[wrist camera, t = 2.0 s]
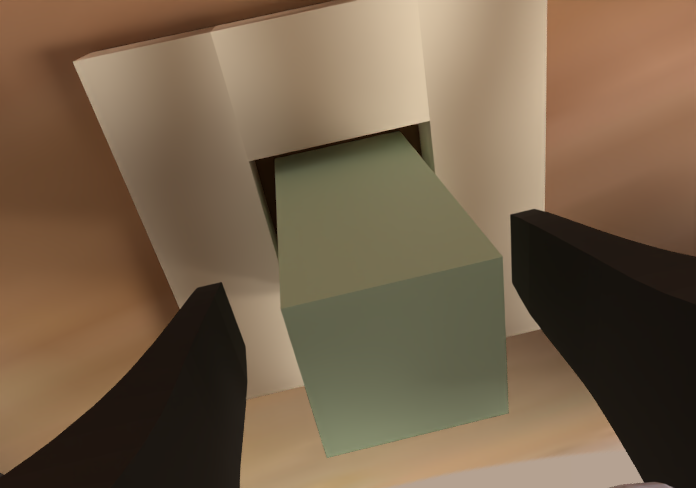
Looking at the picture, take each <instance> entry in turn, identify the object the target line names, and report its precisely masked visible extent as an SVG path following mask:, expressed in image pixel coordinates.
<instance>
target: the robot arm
mask: <svg viewBox="0 0 696 488" xmlns="http://www.w3.org/2000/svg"><path fill="white" fill-rule="evenodd" d="M510 228H511V268H512V284H513V286H514V287H515V289H516V291H517V293H518V295H519V297H520V298H521V300H522V302H523V304H524V305H525V307H526V309H527V310H528V312H529V314H530V315H531V317H532V318H533V319H534V321H535V322H536V323H537V324H538V326H539V327H540V328H541V330H542V331H543V332H544V334H545V335H546V336H547V337H548V339H549V340H550V341H551V342H552V344H553V345H554V346H555V348H556V349H557V350H558V351H559V353H560V354H561V355H562V356H563V358H564V359H565V360H566V361H567V363H568V364H569V365H570V367H571V368H572V369H573V370H574V372H575V373H576V374H577V375H578V377H579V378H580V379H581V381H582V382H583V383H584V385H585V386H586V388H587V389H588V390H589V392H590V393H591V395H592V396H593V397H594V399H595V401H596V402H597V404H598V405H599V407H600V409H601V410H602V412H603V414H604V415H605V417H606V418H607V420H608V422H609V423H610V425H611V426H612V428H613V430H614V431H615V433H616V435H617V436H618V438H619V440H620V441H621V443H622V445H623V447H624V448H625V450H626V452H627V453H628V455H629V457H630V458H631V460H632V462H633V464H634V465H635V467H636V468H637V470H638V472H639V474H640V476H641V478H642V479H643V481H644V483H636V484H624V485H619V486H614V487H610V488H696V257H694V256H689V255H685V254H680V253H675V252H671V251H667V250H663V249H659V248H655V247H652V246H648V245H645V244H641V243H638V242H634V241H631V240H627V239H624V238H621V237H618V236H615V235H612V234H609V233H606V232H603V231H600V230H597V229H594V228H591V227H588V226H585V225H583V224H580V223H577V222H574V221H571V220H569V219H566V218H563V217H560V216H557V215H554V214H551V213H548V212H545V211H541V210H537V209H531V210H527V211H523V212H518V213H514V214H510ZM247 383H248V381H247V360H246V346H245V343H244V341H243V338H242V335H241V332H240V330H239V327H238V324H237V322H236V319H235V316H234V314H233V311H232V308H231V305H230V303H229V300H228V297H227V295H226V292H225V289H224V287H223V284H222V282H219V283H215V284H211V285H206V286H202V287H198V288H196V289H195V291H194V292H193V293H192V294H191V295H190V297H189V298H188V299H187V301H186V302H185V303H184V305H183V306H182V307H181V309H180V310H179V311H178V313H177V314H176V315H175V317H174V318H173V319H172V320H171V322H170V323H169V324H168V326H167V327H166V328H165V329H164V331H163V332H162V333H161V334H160V336H159V337H158V338H157V340H156V341H155V342H154V343H153V344H152V345H151V347H150V348H149V349H148V350H147V351H146V352H145V353H144V355H143V356H142V357H141V358H140V359H139V360H138V362H137V363H136V364H135V365H134V366H133V367H132V368H131V370H130V371H129V372H128V373H127V374H126V375H125V376H124V377H123V378H122V379H121V380H120V381H119V382H118V383H117V384H116V385H115V386H114V387H113V388H112V389H111V390H110V391H109V392H108V393H107V394H106V395H105V396H104V397H103V398H102V399H101V400H99V401H98V402H97V403H96V404H95V405H94V406H93V407H92V408H91V409H89V410H88V411H87V412H86V413H85V414H83V415H82V416H81V417H80V418H79V419H77V420H76V421H75V422H74V423H73V424H71V425H70V426H69V427H68V428H67V429H65V430H64V431H63V432H62V433H61V434H59V435H58V436H57V437H56V438H55V439H53V440H52V441H51V442H49V443H48V444H47V445H45V446H44V447H43V448H41V449H40V450H39V451H37V452H36V453H35V454H33V455H32V456H31V457H29V458H28V459H26V460H25V461H23V462H22V463H21V464H19V465H18V466H16V467H15V468H14V469H12V470H11V471H9V472H8V473H6V474H5V475H3V476H2V477H0V488H240V464H241V453H242V442H243V431H244V420H245V408H246V396H247Z"/></svg>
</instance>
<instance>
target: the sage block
mask: <svg viewBox="0 0 696 488" xmlns="http://www.w3.org/2000/svg"><path fill="white" fill-rule="evenodd" d="M274 161H275V185H276V210H277V234H278V258H279V283H280V307H281V312H282V315H283V318H284V322H285V325H286V328H287V331H288V334H289V338H290V341H291V344H292V347H293V350H294V354H295V357H296V360H297V363H298V367H299V370H300V373H301V376H302V379H303V383H304V386H305V389H306V392H307V396H308V399H309V402H310V405H311V408H312V412H313V415H314V418H315V421H316V425H317V428H318V431H319V434H320V437H321V441H322V444H323V447H324V450H325V453H326V457H327V458H329V457H333V456H337V455H341V454H345V453H349V452H353V451H357V450H361V449H365V448H370V447H374V446H378V445H382V444H386V443H390V442H394V441H398V440H402V439H406V438H410V437H414V436H418V435H422V434H427V433H431V432H435V431H439V430H443V429H447V428H451V427H455V426H459V425H463V424H467V423H471V422H475V421H479V420H483V419H488V418H492V417H496V416H500V415H504V414H508V413H509V410H508V383H507V356H506V329H505V302H504V275H503V256H502V255H501V254H500V253H499V251H498V250H497V249H496V248H495V247H494V245H493V244H492V243H491V242H490V240H489V239H488V238H487V237H486V236H485V234H484V233H483V232H482V231H481V230H480V228H479V227H478V226H477V225H476V223H475V222H474V221H473V220H472V219H471V217H470V216H469V215H468V214H467V212H466V211H465V210H464V209H463V208H462V206H461V205H460V204H459V203H458V201H457V200H456V199H455V198H454V197H453V195H452V194H451V193H450V192H449V190H448V189H447V188H446V187H445V186H444V184H443V183H442V182H441V181H440V179H439V178H438V177H437V176H436V175H435V173H434V172H433V171H432V170H431V169H430V167H429V166H428V165H427V164H426V162H425V161H424V160H423V159H422V158H421V156H420V155H419V154H418V153H417V151H416V150H415V149H414V148H413V147H412V145H411V144H410V143H409V142H408V140H407V139H406V138H405V137H404V136H403V134H402V133H401V132H400V131H396V132H391V133H387V134H382V135H378V136H373V137H369V138H365V139H360V140H356V141H351V142H347V143H342V144H338V145H333V146H329V147H324V148H320V149H316V150H311V151H307V152H302V153H298V154H293V155H289V156H284V157H280V158H275V159H274Z"/></svg>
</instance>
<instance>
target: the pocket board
mask: <svg viewBox="0 0 696 488" xmlns="http://www.w3.org/2000/svg"><path fill="white" fill-rule="evenodd" d="M546 59H547V0H334V1H330V2H325V3H320V4H316V5H311V6H306V7H302V8H297V9H292V10H288V11H283V12H278V13H274V14H269V15H264V16H260V17H255V18H250V19H246V20H241V21H236V22H232V23H227V24H222V25H218V26H213V27H208V28H204V29H199V30H194V31H190V32H185V33H180V34H176V35H171V36H166V37H162V38H157V39H152V40H148V41H143V42H138V43H134V44H129V45H124V46H120V47H115V48H110V49H106V50H101V51H96V52H92V53H89V54H87V55H85V56H83V57H81V58H79V59H77V60H75V61H73V64H74V66H75V68H76V71H77V73H78V75H79V77H80V80H81V82H82V84H83V87H84V89H85V91H86V94H87V96H88V98H89V101H90V103H91V105H92V107H93V110H94V112H95V114H96V117H97V119H98V121H99V124H100V126H101V128H102V130H103V133H104V135H105V137H106V140H107V142H108V144H109V147H110V149H111V151H112V154H113V156H114V158H115V160H116V163H117V165H118V167H119V170H120V172H121V174H122V177H123V179H124V181H125V184H126V186H127V188H128V190H129V193H130V195H131V197H132V200H133V202H134V204H135V207H136V209H137V211H138V214H139V216H140V218H141V220H142V223H143V225H144V227H145V230H146V232H147V234H148V237H149V239H150V241H151V244H152V246H153V248H154V250H155V253H156V255H157V257H158V260H159V262H160V264H161V267H162V269H163V271H164V274H165V276H166V278H167V280H168V283H169V285H170V287H171V290H172V292H173V294H174V297H175V299H176V301H177V304H178V306H179V308H180V309H181V307H182V306H183V305H184V303H185V302H186V301H187V299H188V298H189V297H190V295H191V294H192V293H193V292H194V291H195V289H196V288H198V287H202V286H206V285H211V284H215V283H219V282H222V284H223V287H224V289H225V292H226V295H227V297H228V300H229V303H230V305H231V308H232V311H233V314H234V316H235V319H236V322H237V324H238V327H239V330H240V332H241V335H242V338H243V341H244V343H245V346H246V360H247V381H248V383H247V396H246V400H248V399H252V398H256V397H260V396H264V395H269V394H273V393H277V392H281V391H285V390H289V389H294V388H298V387H302V386H304V383H303V379H302V376H301V373H300V370H299V367H298V363H297V360H296V357H295V354H294V350H293V347H292V344H291V341H290V338H289V334H288V331H287V328H286V325H285V322H284V318H283V315H282V312H281V307H280V283H279V258H278V240H277V236H276V233H275V229H274V226H273V222H272V219H271V215H270V212H269V208H268V205H267V202H266V198H265V195H264V191H263V188H262V184H261V181H260V177H259V174H258V170H257V167H256V164H255V160H257V159H262V158H266V157H270V156H275V155H279V154H284V153H288V152H293V151H297V150H302V149H306V148H311V147H315V146H320V145H324V144H329V143H333V142H337V141H342V140H346V139H351V138H355V137H360V136H364V135H369V134H373V133H378V132H382V131H387V130H391V129H396V128H400V127H405V126H409V125H413V124H418V127H419V136H420V145H421V153H422V159H423V160H424V161H425V162H426V164H427V165H428V166H429V167H430V169H431V170H432V171H433V172H434V173H435V175H436V176H437V177H438V178H439V179H440V181H441V182H442V183H443V184H444V186H445V187H446V188H447V189H448V190H449V192H450V193H451V194H452V195H453V197H454V198H455V199H456V200H457V201H458V203H459V204H460V205H461V206H462V208H463V209H464V210H465V211H466V212H467V214H468V215H469V216H470V217H471V219H472V220H473V221H474V222H475V223H476V225H477V226H478V227H479V228H480V230H481V231H482V232H483V233H484V234H485V236H486V237H487V238H488V239H489V240H490V242H491V243H492V244H493V245H494V247H495V248H496V249H497V250H498V251H499V253H500V254H501V255H502V256H503V275H504V302H505V329H506V337H510V336H515V335H519V334H523V333H527V332H531V331H536V330H540V329H541V328H540V327H539V326H538V324H537V323H536V322H535V321H534V319H533V318H532V317H531V315H530V314H529V312H528V310H527V309H526V307H525V305H524V304H523V302H522V300H521V298H520V297H519V295H518V293H517V291H516V289H515V287H514V286H513V284H512V268H511V228H510V214H514V213H518V212H523V211H527V210H531V209H537V210H541V211H545V146H546Z"/></svg>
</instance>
